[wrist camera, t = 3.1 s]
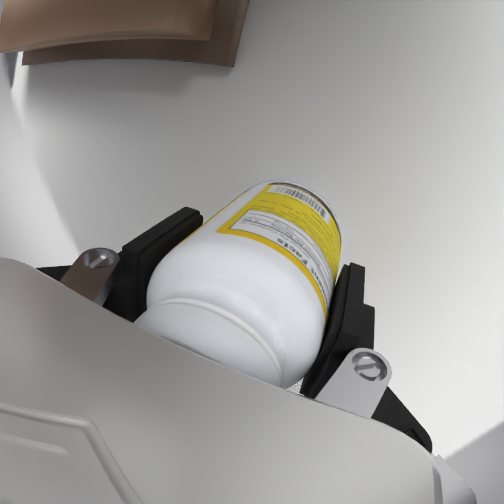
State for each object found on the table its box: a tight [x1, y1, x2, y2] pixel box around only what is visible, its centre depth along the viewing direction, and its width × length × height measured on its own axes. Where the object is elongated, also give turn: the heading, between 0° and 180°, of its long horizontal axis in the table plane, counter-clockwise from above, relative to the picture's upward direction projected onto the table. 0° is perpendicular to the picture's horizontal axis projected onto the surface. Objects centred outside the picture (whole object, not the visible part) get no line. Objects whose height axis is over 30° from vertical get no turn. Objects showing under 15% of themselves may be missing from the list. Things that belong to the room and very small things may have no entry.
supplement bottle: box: [134, 181, 341, 389], centre depth 11 cm, size 5×5×10 cm
